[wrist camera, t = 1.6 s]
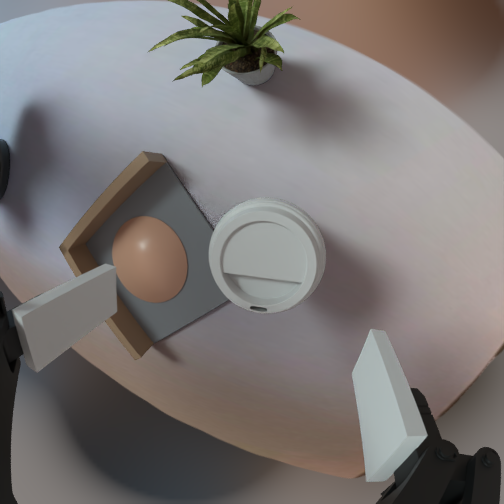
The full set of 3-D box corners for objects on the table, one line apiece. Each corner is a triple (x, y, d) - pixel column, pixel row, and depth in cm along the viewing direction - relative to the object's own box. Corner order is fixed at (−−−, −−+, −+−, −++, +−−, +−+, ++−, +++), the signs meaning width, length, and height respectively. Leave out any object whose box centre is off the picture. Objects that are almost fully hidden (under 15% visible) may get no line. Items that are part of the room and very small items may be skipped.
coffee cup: (229, 245, 36) (183, 286, 22) (262, 178, 34) (233, 176, 19) (294, 280, 36) (287, 342, 22) (331, 215, 33) (352, 240, 19)
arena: (78, 240, 41) (59, 247, 36) (161, 154, 35) (142, 151, 30) (149, 344, 43) (135, 360, 38) (252, 284, 37) (244, 299, 32)
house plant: (197, 31, 30) (144, -29, 14) (295, 16, 27) (285, -62, 11) (201, 116, 33) (132, 78, 17) (309, 104, 30) (313, 44, 15)
